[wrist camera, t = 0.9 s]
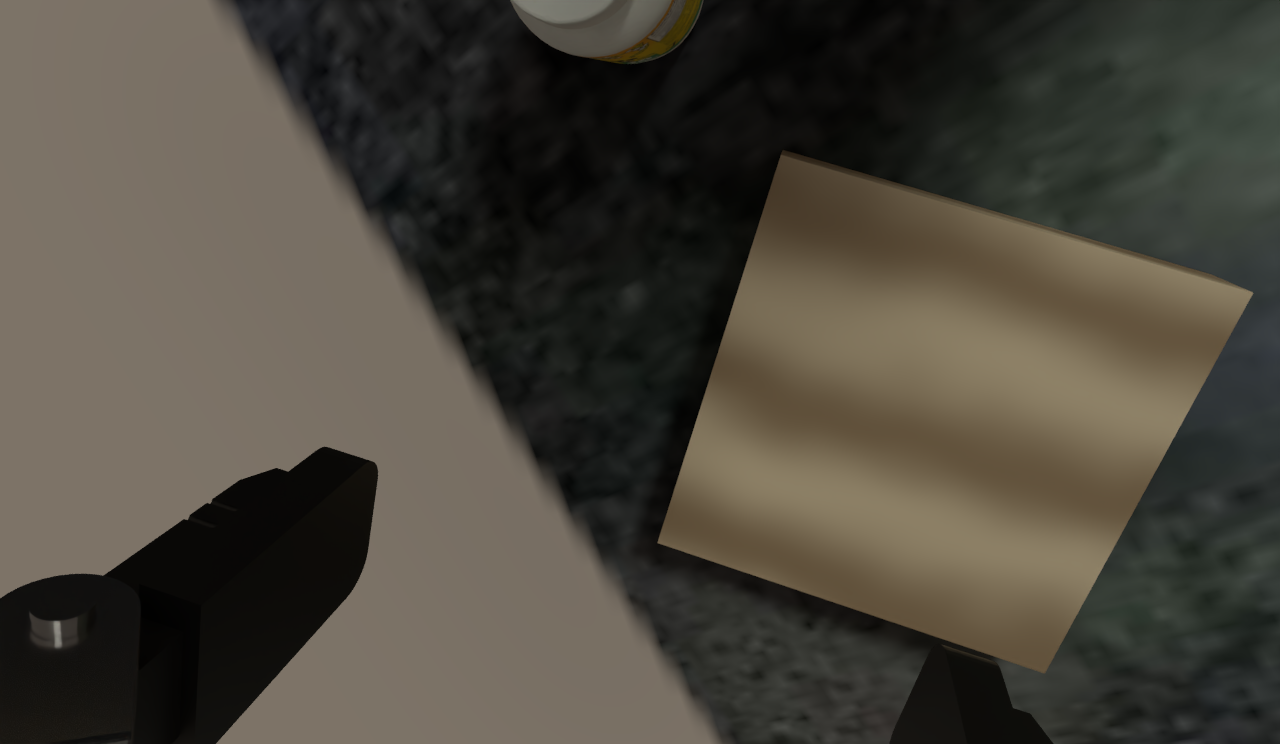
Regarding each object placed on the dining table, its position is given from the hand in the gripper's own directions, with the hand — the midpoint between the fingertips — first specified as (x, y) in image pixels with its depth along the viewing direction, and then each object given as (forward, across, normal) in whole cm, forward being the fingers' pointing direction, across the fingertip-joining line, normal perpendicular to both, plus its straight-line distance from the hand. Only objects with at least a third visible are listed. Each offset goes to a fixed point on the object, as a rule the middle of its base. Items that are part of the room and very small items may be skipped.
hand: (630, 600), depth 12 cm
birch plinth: (+23, -8, +4) cm, 25 cm away
